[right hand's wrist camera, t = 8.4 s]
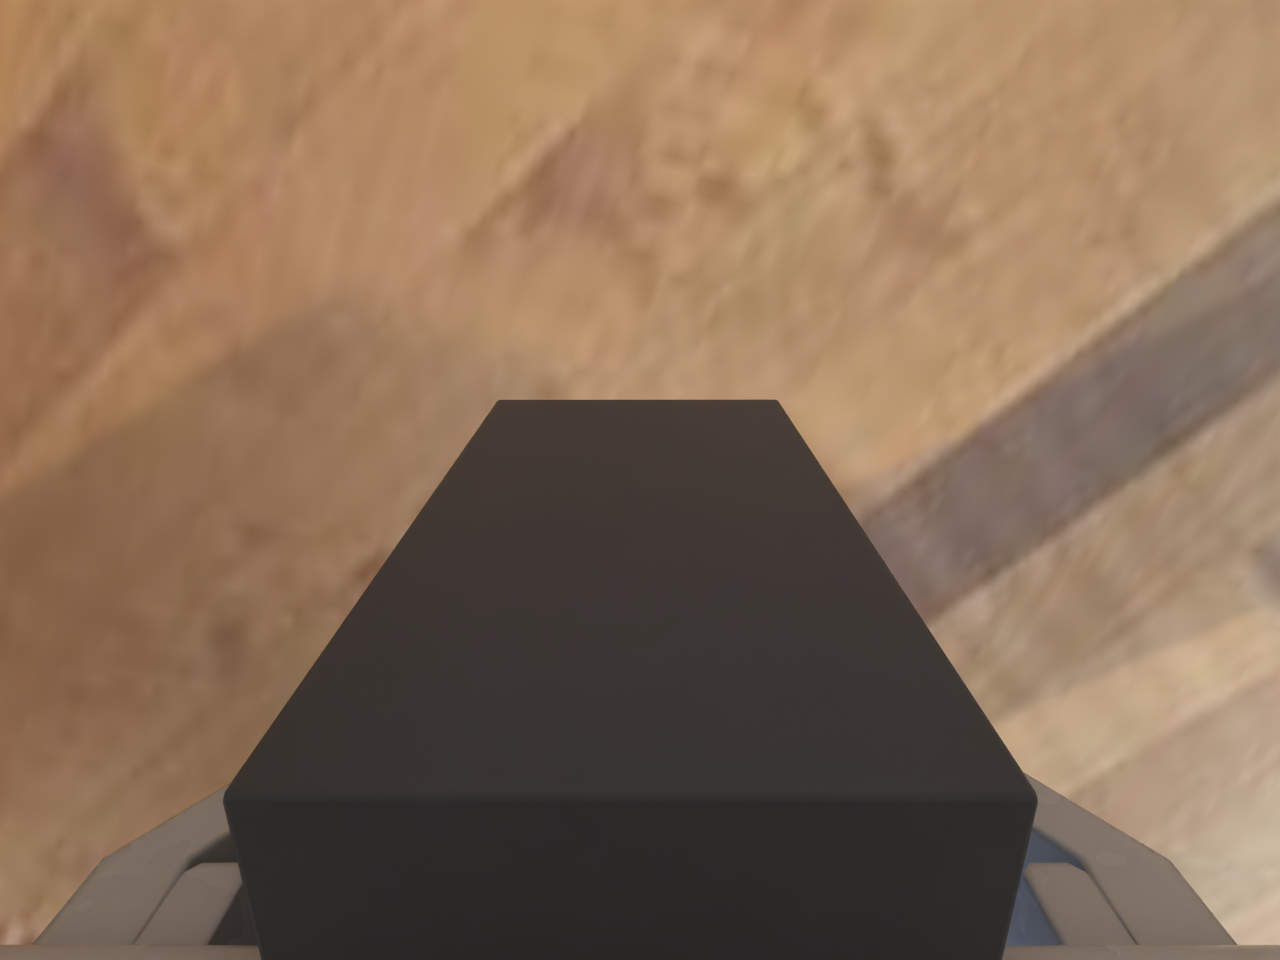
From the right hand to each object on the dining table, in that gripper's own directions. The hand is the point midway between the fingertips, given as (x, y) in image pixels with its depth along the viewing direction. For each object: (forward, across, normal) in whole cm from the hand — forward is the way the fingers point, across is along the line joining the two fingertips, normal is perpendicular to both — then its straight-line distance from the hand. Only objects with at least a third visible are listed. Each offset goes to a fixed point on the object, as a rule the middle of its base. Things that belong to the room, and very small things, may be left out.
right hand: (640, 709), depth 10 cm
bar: (+3, 0, -10) cm, 10 cm away
